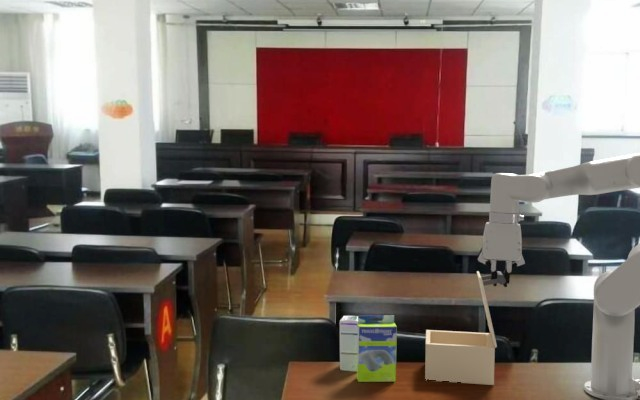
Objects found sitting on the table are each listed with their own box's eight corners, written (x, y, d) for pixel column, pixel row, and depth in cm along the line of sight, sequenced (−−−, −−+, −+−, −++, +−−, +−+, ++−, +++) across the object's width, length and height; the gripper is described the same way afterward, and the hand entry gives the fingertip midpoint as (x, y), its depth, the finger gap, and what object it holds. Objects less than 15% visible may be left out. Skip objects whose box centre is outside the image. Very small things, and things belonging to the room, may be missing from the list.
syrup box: (359, 372, 173) (360, 321, 172) (339, 370, 174) (339, 319, 173) (362, 365, 179) (362, 316, 178) (342, 363, 180) (342, 314, 179)
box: (357, 382, 165) (358, 319, 164) (356, 377, 169) (356, 315, 168) (396, 382, 166) (397, 318, 164) (394, 376, 170) (395, 314, 168)
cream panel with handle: (490, 332, 177) (513, 328, 176) (494, 347, 163) (520, 343, 162) (476, 271, 176) (499, 267, 175) (480, 281, 163) (505, 276, 161)
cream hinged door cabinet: (489, 367, 177) (489, 333, 177) (493, 385, 164) (494, 348, 163) (425, 363, 181) (426, 329, 180) (425, 380, 167) (425, 344, 166)
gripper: (532, 218, 169) (527, 284, 171) (472, 215, 172) (468, 280, 174) (536, 221, 162) (532, 290, 164) (474, 218, 165) (470, 286, 166)
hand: (499, 285), depth 169 cm, fingers closed on cream panel with handle, 2 cm apart
